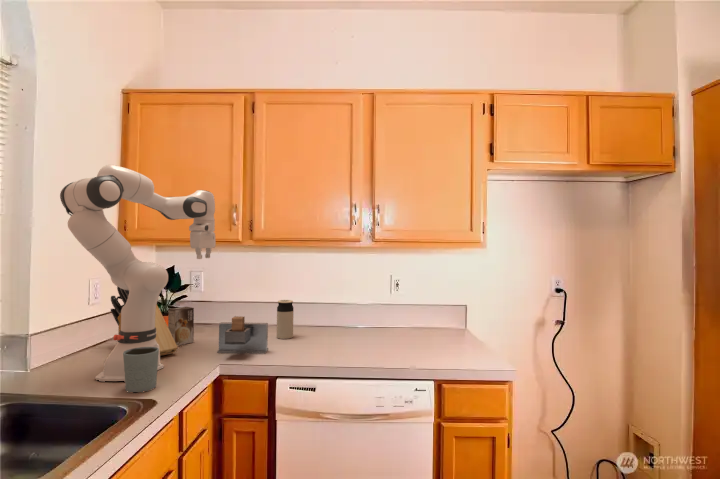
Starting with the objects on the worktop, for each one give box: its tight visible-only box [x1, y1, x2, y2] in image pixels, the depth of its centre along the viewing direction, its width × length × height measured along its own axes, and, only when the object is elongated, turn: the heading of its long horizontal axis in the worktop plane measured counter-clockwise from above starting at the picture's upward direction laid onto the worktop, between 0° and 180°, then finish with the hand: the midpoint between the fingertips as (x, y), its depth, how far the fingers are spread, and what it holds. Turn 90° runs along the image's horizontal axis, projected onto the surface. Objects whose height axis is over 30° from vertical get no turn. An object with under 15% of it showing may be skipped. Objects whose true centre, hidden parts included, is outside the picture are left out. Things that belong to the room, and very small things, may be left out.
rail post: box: [231, 315, 246, 331], centre depth 164 cm, size 4×4×9 cm
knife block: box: [110, 286, 179, 357], centre depth 170 cm, size 11×35×31 cm, turn 57°
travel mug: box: [276, 299, 294, 340], centre depth 198 cm, size 8×8×18 cm
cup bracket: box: [216, 321, 269, 355], centre depth 168 cm, size 15×20×12 cm
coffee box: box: [167, 306, 195, 347], centre depth 184 cm, size 9×6×16 cm
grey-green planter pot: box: [123, 347, 159, 393], centre depth 128 cm, size 10×10×12 cm
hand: (203, 258), depth 178 cm, fingers open, 8 cm apart
